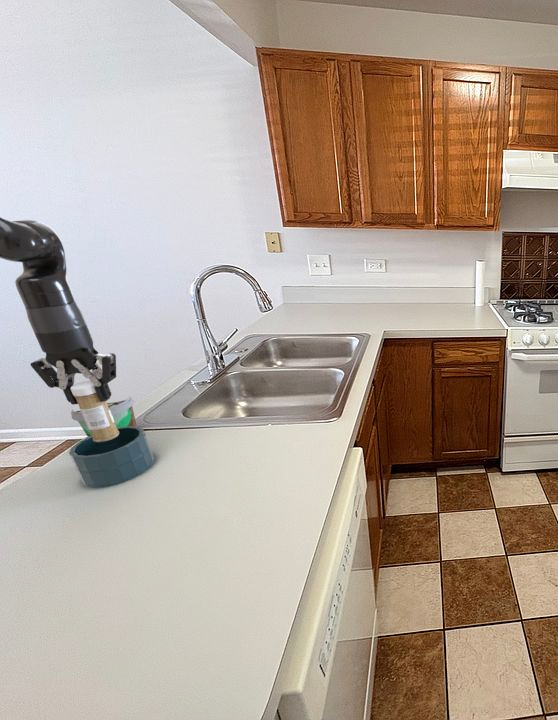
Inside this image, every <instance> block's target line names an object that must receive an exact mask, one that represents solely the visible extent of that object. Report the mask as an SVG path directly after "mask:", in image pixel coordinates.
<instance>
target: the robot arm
mask: <svg viewBox="0 0 558 720" xmlns="http://www.w3.org/2000/svg"><path fill="white" fill-rule="evenodd" d="M0 259H2V260H5V261H9V262H14V263H22V268H23V271H22V273H21V274H20V275H19V276H18V277H16V279H15V281H14V283H15V287H16V290H17V292H18V295H19V297H20V299H21V301H22V304H23V306H24V309H25V311H26V314H27V319H28V322H29V324H30V326H31V329H32V331H33V333H34V335H35V338H36V340H37V343H38V344H39V347H40V349H41V352H43V353H44V354H45V358H44V357H41V358H39V359H37V360H36V359H35V360H34V361H33V362H30V367H31V368H32V369H33V371H34V372H35V373H36V374H37V375H38V376H39V378H40V379H41V380H42V381H43V382H44V383H45V384H46V386H47V387H48V388H51V389H52V388H59V389H60V390H62V391H63V394H64V396H65V398H66V401H67V402H68V403H70V404H71V405H78V402H77V400H76V398H75V397H74V395H73V394H72V391H71V387H72V386H73V385H75V376H76V374H82V376H83V377H84V378H85V379H88V381H89V380H90V381H91V382H92V383H93V384H94V385H95V390H96V392H97V395H98V397H99V400H100V402H105V401H106V402H107V401H108V400H110V399H111V397H112V391H111V389H110V386H109V384H108V383H110V382H112V381H113V380H115V379H116V378H117V355H116V354H115V353H113V352H111V353H109V354H105V353H99V351H97V350H96V349H95V347H94V340H93V337H92V335H91V333H90V329H89V327H88V325H87V322H86V320H85V317H84V315H83V312H82V310H81V308H80V307H79V305H78V303H77V301H76V298H75V296H74V293H73V290H72V288H71V286H70V284H69V281H68V272H67V270H68V269H67V259H66V253H65V247H64V245H63V241H62V239H61V238H60V236H59V235H58V233H57V232H56V231H55V230H54V229H53V228H52V227H50V226H49V225H47V224H46V223H43V222H42V221H37V220H31V219H27V220H25V219H24V220H9V219H5V218H3V217H2V216H1V217H0ZM97 361H98V362H99V364H98V363H97ZM100 365H101V367H100Z"/></svg>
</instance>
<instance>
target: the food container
mask: <svg viewBox="0 0 558 720" xmlns="http://www.w3.org/2000/svg"><path fill="white" fill-rule="evenodd" d="M106 403H107V405H108V408H109V409H110V411H111V414H112V416H113V419H114V422H115V425H116V427H117V428H118V427H127V426H135V427H138V426H137V421H136V417H135V411H134V407H133V406H134V405H135V403H136V402H135V400H134V398H133V397H131V396H130V395H128V397H127V398H126V399H124V400H120V401H115V402H106ZM70 415H71V419H72V420H73V421H75V422H78V424H79V425H80V427H81V429H82V430H83V432H84V433H85V435H86V436H87V437H88V436H91V432H90V430H89V429H88V427H87V424H86V422H85V420H84V417H83V415H82V413H81V410H80V409H79V410H76V411H74V409H73V408H71V411H70Z"/></svg>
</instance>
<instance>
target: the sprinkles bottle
mask: <svg viewBox="0 0 558 720" xmlns="http://www.w3.org/2000/svg"><path fill="white" fill-rule="evenodd" d="M71 391H72V394H73V395H74V397H75V398H76V400H77V402H78V404H77V405H78V407H79V411H80V410H81V413H82V415H83V417H84V420H85V422H86V424H87V427H88V429H89V430H90V432H91V435H92V437H93V441H94V442H105V441H109V440H112V439H114V438H115V437H117V436H118V435H119V431H118V430H117V427H116V425H115V422H114V419H113V416H112V414H111V411H110V409H109V408H108V405H107V403H108V402H107V401H105V402H100V400H99V397H98V395H97V392H96V390H95V385H94V384H93V383H92V382H91V381H90V380H89V379H88V380H86V381H85V380H83V381H80V382H77V383H74V384H73V386H72V387H71Z"/></svg>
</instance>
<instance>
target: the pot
mask: <svg viewBox="0 0 558 720" xmlns="http://www.w3.org/2000/svg"><path fill="white" fill-rule="evenodd" d="M117 430H118V431H119V435H118V436H117V437H115V438H114V439H112V440H109V441H105V442H94V441H93V437H92V435H91V436H89V437H88V436H87V437H85V438H84V439H82V440H80V441H78V442H77V443H75V444H74V445H73V446H71V448H70V449H69V452H68V455H69V456H70V458H71V461H72V463H73V465H74V467H75V469H76V472H77V474H78V477H79V479H80V480H81V482H82V484H83V485H84V486H85V487H87V488H91V489H101V488H102V489H103V488H108V487H113V486H117V485H119V484H122V483H126V482H128V481H131V480H133V479H135V478H137V477H139V476H140V475H142V474H143V473H145V472H147V471H148V470H149V469H150V468H151V467H152V466H153V464H154V462H155V458H154V453H153V451H152V448H151V445H150V443H149V440H148V437H147V434H146V431H145V429H143V428H142V427H140V426H137V427H135V426H127V427H118V428H117Z"/></svg>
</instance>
